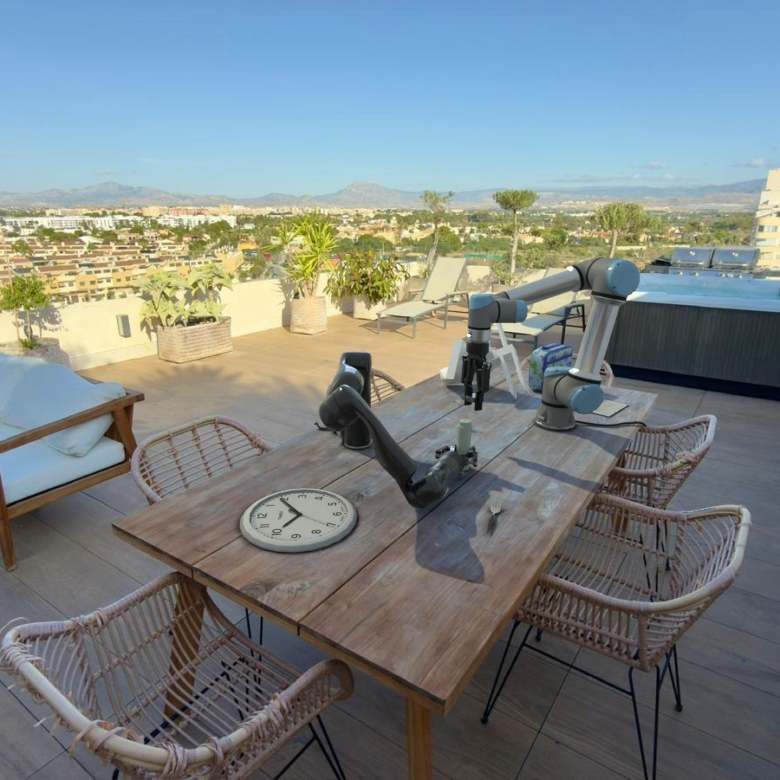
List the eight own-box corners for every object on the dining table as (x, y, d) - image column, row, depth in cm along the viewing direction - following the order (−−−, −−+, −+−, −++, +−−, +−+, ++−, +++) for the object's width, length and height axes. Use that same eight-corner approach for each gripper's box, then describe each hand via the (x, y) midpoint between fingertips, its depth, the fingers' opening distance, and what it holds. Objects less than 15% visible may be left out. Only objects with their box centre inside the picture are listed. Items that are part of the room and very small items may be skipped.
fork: (481, 533, 130) (482, 526, 130) (492, 503, 145) (493, 497, 144) (492, 535, 130) (492, 528, 129) (501, 505, 144) (502, 499, 143)
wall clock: (358, 544, 122) (227, 548, 120) (358, 550, 123) (228, 554, 120) (355, 484, 151) (250, 486, 148) (355, 489, 151) (250, 491, 149)
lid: (462, 399, 180) (462, 394, 179) (474, 397, 182) (474, 392, 182) (472, 403, 175) (472, 398, 175) (484, 401, 178) (484, 396, 178)
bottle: (470, 466, 168) (473, 419, 163) (467, 471, 164) (470, 423, 159) (457, 463, 169) (459, 417, 164) (454, 469, 165) (456, 422, 161)
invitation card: (608, 416, 214) (573, 407, 224) (608, 416, 214) (573, 408, 224) (628, 404, 229) (594, 396, 238) (628, 405, 229) (594, 397, 238)
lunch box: (544, 395, 239) (549, 351, 233) (524, 390, 247) (528, 347, 240) (571, 384, 257) (577, 343, 251) (552, 380, 264) (556, 339, 258)
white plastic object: (461, 429, 252) (437, 405, 227) (444, 352, 274) (420, 323, 250) (535, 404, 240) (518, 377, 215) (510, 326, 262) (492, 293, 237)
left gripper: (471, 461, 148) (488, 440, 163) (425, 451, 154) (445, 432, 169) (469, 484, 151) (486, 462, 165) (424, 474, 157) (444, 453, 171)
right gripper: (453, 336, 179) (449, 401, 186) (485, 347, 163) (480, 417, 170) (470, 335, 182) (466, 398, 189) (504, 345, 167) (498, 414, 174)
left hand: (465, 447), depth 167 cm, fingers closed on bottle, 4 cm apart
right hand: (472, 407), depth 180 cm, fingers closed on lid, 5 cm apart
